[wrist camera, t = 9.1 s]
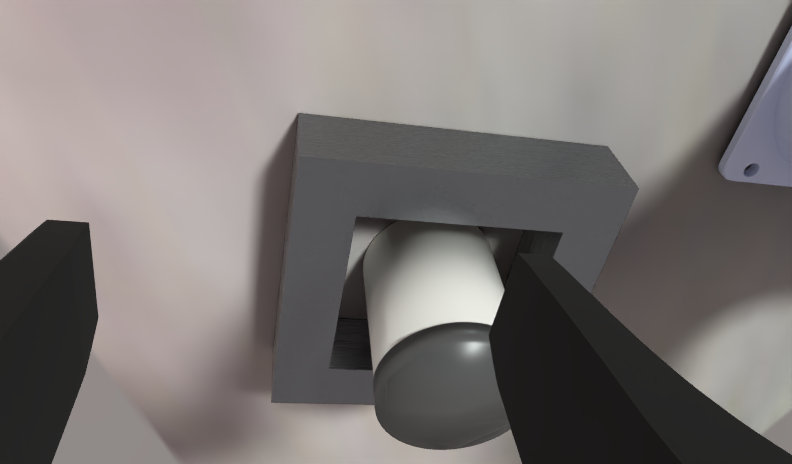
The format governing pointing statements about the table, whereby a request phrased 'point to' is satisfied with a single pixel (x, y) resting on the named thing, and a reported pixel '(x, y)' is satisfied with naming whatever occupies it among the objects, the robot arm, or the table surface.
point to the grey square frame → (428, 202)
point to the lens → (434, 334)
